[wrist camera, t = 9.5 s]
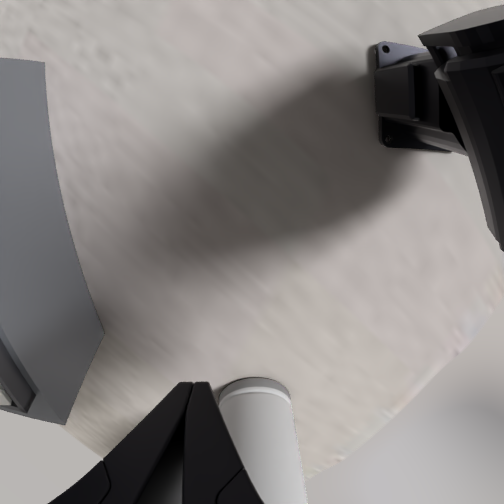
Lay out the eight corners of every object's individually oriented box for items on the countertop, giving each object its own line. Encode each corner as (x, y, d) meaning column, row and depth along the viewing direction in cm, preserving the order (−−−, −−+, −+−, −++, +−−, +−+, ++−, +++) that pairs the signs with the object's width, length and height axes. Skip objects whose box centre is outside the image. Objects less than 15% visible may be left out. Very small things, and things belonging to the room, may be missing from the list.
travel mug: (204, 406, 26) (197, 616, 8) (243, 366, 24) (257, 624, 6) (261, 425, 28) (277, 612, 10) (303, 389, 26) (346, 607, 8)
